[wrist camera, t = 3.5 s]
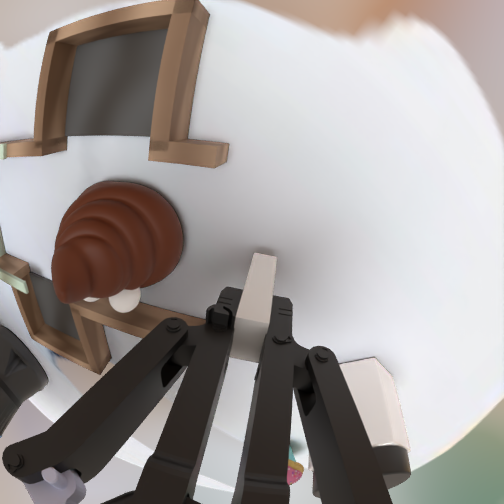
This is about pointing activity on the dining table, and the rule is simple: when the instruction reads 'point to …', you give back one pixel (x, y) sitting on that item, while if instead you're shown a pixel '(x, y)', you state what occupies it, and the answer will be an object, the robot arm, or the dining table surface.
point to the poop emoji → (115, 244)
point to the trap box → (111, 123)
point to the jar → (378, 418)
